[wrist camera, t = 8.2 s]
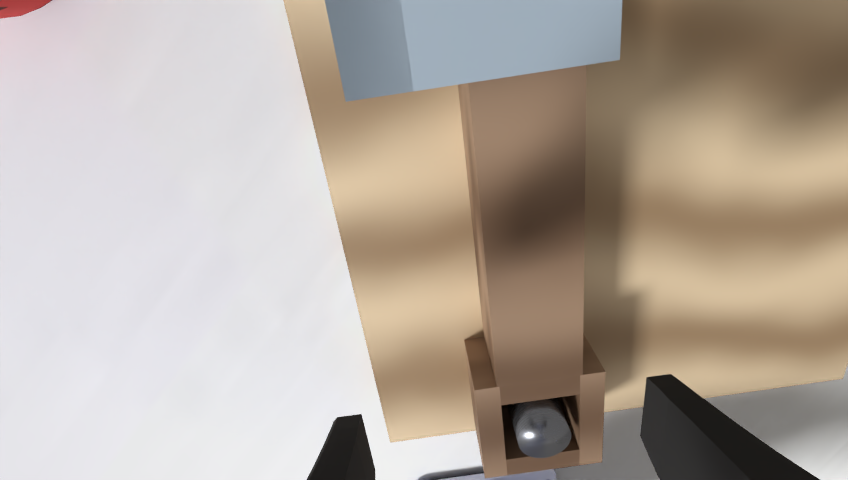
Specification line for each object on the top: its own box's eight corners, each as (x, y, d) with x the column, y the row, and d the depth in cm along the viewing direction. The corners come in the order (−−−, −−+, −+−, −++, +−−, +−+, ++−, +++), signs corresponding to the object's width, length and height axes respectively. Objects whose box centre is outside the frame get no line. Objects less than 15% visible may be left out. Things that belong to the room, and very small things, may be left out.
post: (547, 392, 23) (571, 454, 20) (502, 398, 23) (519, 461, 20) (546, 357, 22) (571, 416, 19) (499, 363, 22) (516, 424, 19)
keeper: (564, 47, 16) (619, 60, 12) (358, 79, 16) (345, 101, 12) (564, -47, 15) (624, -68, 11) (341, -12, 15) (320, -20, 11)
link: (577, 407, 24) (602, 462, 21) (474, 421, 24) (485, 478, 21) (579, -7, 16) (620, -11, 13) (423, 17, 16) (429, 19, 13)
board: (829, 367, 25) (842, 378, 24) (390, 430, 25) (390, 442, 24) (983, -133, 15) (1012, -140, 15) (283, -22, 16) (277, -24, 15)
